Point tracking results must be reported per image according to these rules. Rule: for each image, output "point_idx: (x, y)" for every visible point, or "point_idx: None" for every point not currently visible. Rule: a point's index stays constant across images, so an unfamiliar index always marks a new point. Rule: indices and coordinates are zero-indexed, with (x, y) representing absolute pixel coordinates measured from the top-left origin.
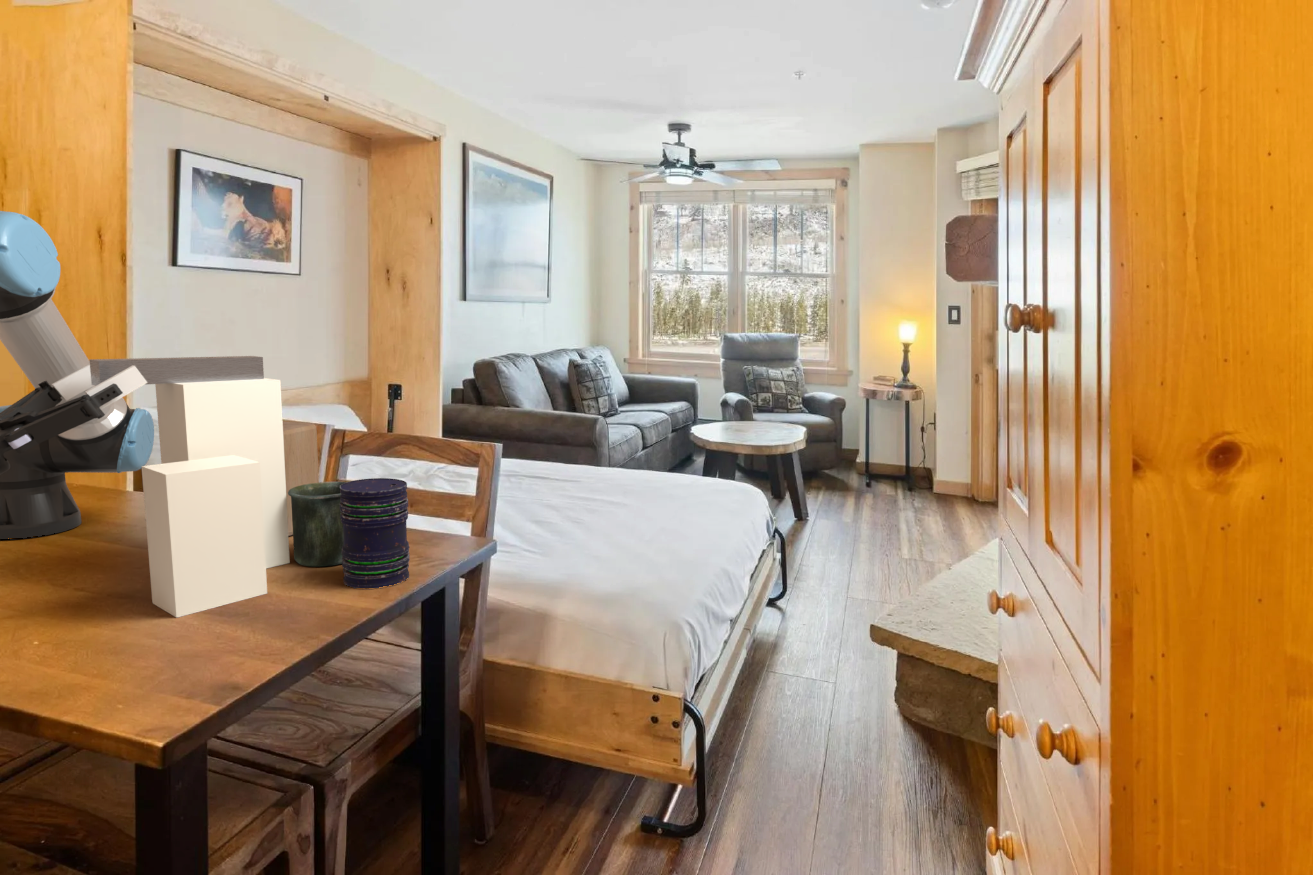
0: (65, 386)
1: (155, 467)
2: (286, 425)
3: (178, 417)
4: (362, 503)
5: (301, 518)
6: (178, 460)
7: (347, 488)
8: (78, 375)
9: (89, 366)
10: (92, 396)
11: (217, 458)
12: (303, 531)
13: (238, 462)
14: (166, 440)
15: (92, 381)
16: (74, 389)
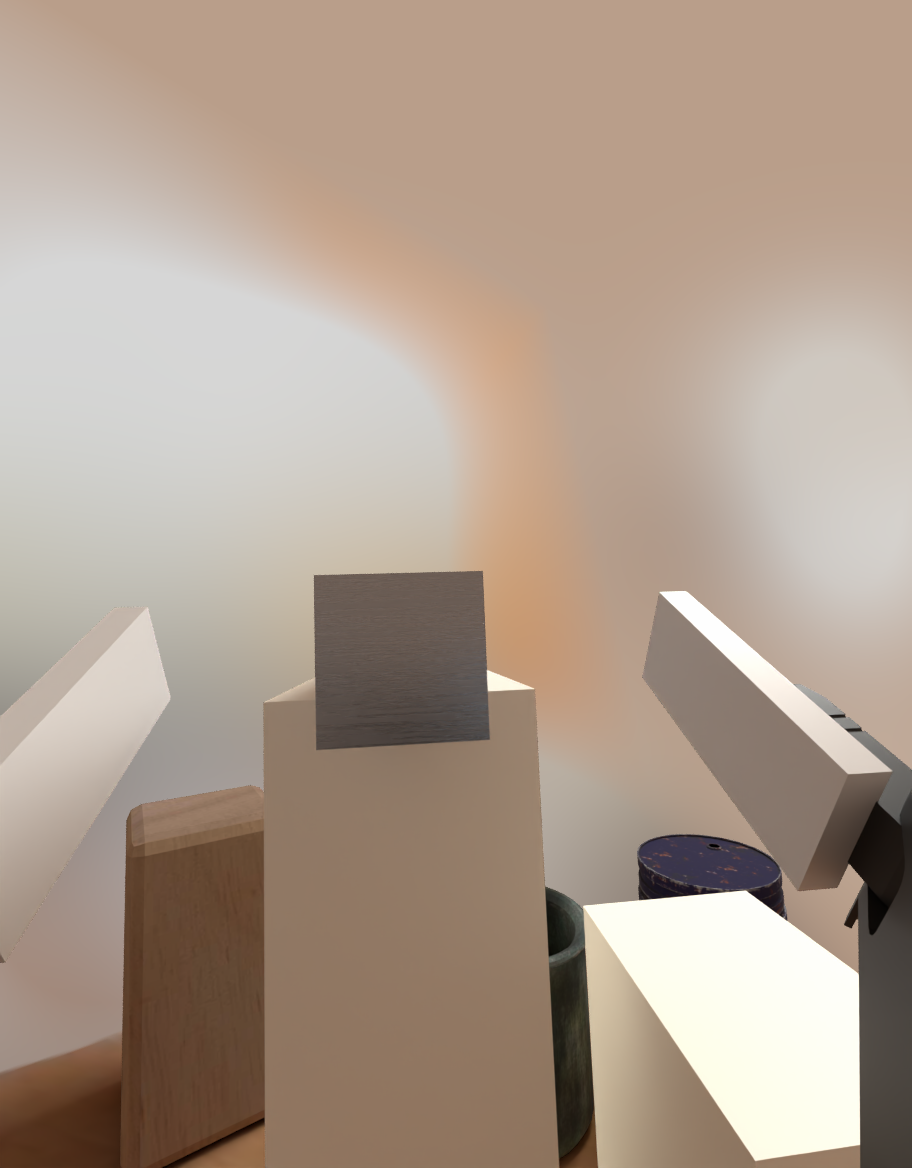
0: (14, 822)
1: (809, 1114)
2: (237, 802)
3: (478, 829)
4: (781, 905)
5: (553, 1022)
6: (454, 1024)
7: (722, 885)
8: (77, 711)
9: (119, 644)
10: (905, 792)
11: (632, 937)
12: (559, 1058)
13: (737, 917)
14: (341, 958)
15: (338, 724)
16: (53, 831)
